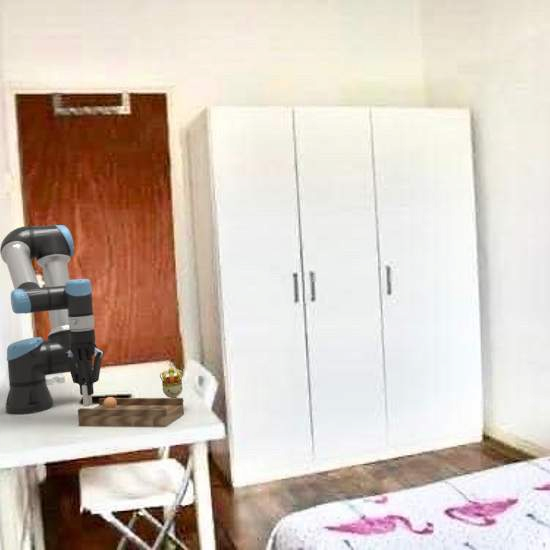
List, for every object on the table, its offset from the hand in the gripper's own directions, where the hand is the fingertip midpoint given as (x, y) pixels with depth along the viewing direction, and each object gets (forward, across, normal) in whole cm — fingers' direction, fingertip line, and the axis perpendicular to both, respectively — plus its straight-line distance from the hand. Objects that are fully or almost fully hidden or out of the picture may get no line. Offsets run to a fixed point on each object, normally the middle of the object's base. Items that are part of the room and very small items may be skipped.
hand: (87, 405), depth 213 cm
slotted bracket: (+5, -47, +56) cm, 73 cm away
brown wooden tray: (+5, +14, 0) cm, 15 cm away
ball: (0, +8, 0) cm, 8 cm away
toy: (+5, +23, +12) cm, 27 cm away
